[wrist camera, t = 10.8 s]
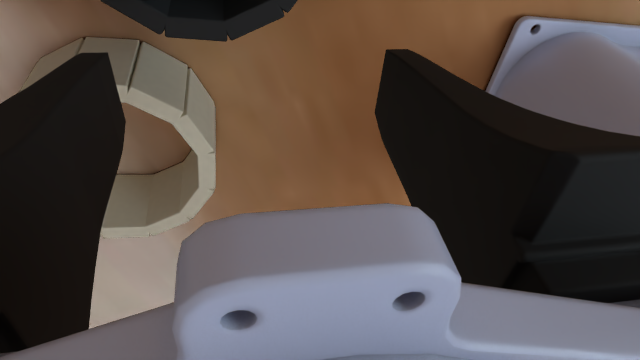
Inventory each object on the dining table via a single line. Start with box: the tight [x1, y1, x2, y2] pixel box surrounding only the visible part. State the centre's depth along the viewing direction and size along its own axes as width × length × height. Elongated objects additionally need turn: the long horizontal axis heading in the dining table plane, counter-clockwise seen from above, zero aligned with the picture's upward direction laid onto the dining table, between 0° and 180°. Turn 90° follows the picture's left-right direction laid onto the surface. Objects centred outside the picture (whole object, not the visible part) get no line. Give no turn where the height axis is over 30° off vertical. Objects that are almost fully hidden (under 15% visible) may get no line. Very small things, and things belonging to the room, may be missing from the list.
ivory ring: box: [19, 37, 216, 239], centre depth 21 cm, size 9×9×4 cm
